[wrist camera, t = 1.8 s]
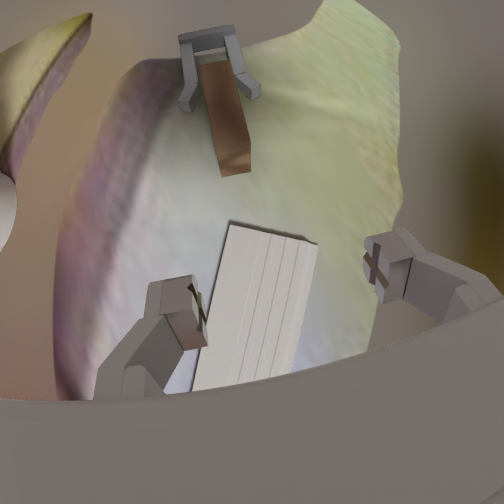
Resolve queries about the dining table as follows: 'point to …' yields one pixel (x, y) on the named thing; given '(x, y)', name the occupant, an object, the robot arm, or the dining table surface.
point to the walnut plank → (226, 118)
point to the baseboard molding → (255, 308)
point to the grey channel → (205, 42)
